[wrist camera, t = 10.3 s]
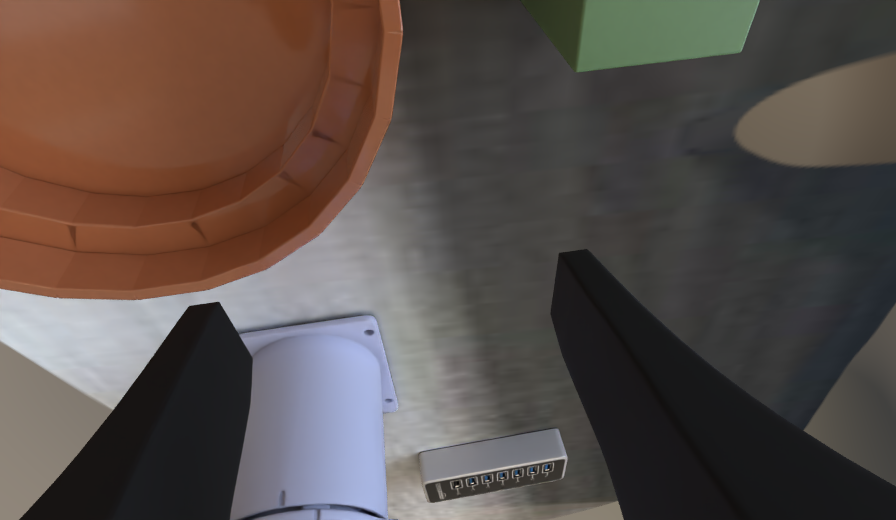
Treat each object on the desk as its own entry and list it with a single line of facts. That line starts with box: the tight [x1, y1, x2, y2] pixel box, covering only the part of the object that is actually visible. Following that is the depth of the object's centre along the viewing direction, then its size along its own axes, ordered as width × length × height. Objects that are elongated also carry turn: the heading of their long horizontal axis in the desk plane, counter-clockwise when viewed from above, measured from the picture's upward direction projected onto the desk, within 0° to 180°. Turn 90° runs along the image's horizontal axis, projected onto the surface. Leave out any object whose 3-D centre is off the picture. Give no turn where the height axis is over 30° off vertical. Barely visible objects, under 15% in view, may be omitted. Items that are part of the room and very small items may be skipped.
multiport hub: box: [419, 429, 567, 503], centre depth 38 cm, size 4×11×2 cm, turn 95°
